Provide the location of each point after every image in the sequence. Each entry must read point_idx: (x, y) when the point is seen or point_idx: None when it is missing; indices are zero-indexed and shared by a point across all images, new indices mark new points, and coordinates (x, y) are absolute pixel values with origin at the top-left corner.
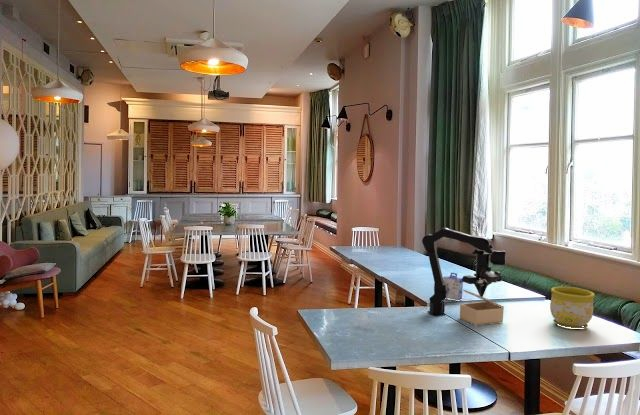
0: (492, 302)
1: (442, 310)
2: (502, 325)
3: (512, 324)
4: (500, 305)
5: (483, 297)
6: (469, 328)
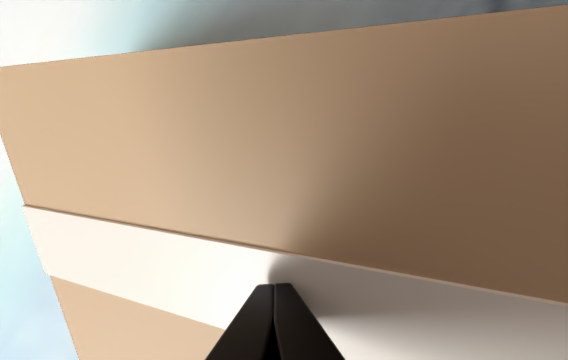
0: (184, 48)
1: None
2: (161, 5)
3: (49, 6)
4: (32, 65)
5: (513, 10)
6: (502, 10)
